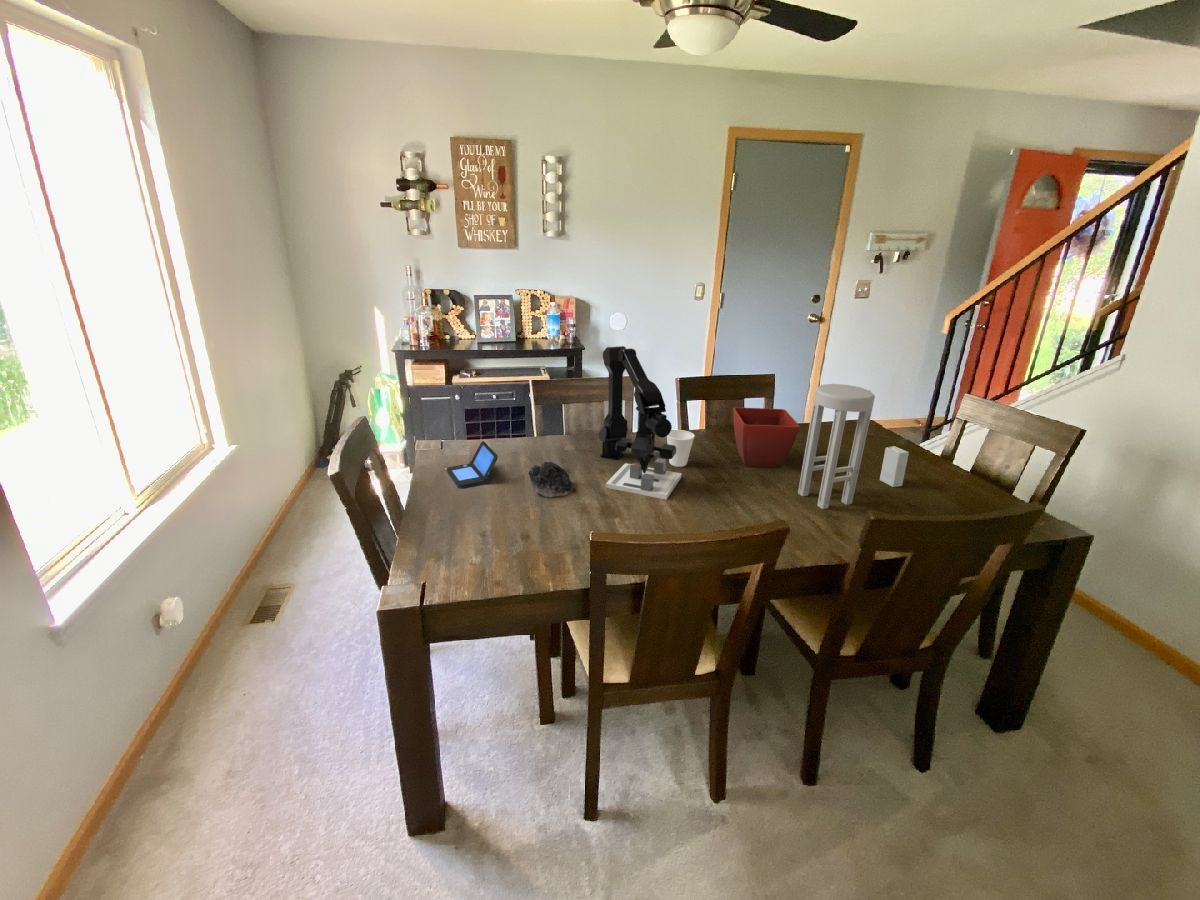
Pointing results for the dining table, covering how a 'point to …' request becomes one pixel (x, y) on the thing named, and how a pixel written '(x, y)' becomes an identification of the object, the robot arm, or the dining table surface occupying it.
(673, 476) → the panel
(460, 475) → the handheld game console
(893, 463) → the skincare box
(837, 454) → the stool
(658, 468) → the block
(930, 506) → the dining table surface
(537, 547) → the dining table surface
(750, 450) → the plant pot
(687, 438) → the cup
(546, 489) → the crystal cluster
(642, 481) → the block
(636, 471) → the block
